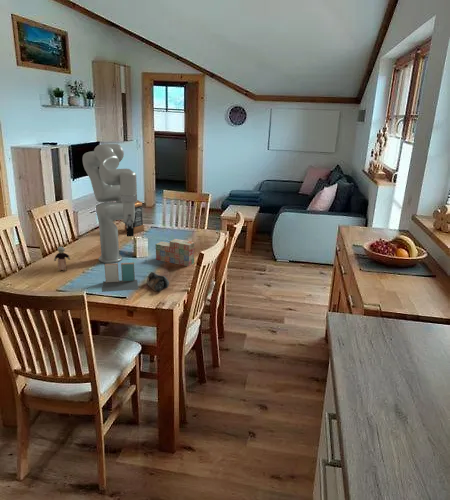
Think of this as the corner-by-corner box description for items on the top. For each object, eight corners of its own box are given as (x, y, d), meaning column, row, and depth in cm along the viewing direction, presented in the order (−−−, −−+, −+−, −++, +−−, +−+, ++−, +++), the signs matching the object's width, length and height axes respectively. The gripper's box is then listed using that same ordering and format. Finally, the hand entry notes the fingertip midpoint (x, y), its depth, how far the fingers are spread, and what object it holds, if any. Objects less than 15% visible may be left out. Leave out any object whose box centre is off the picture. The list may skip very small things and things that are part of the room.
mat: (103, 283, 200) (103, 281, 199) (137, 281, 203) (137, 279, 203) (101, 293, 188) (101, 291, 188) (138, 290, 192) (138, 289, 192)
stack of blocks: (155, 260, 233) (155, 238, 229) (161, 256, 238) (161, 236, 234) (188, 266, 224) (188, 244, 220) (194, 263, 230) (194, 241, 226)
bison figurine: (150, 283, 201) (138, 290, 192) (150, 269, 199) (138, 275, 191) (171, 288, 197) (160, 295, 188) (172, 274, 195) (160, 280, 186)
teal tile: (122, 280, 201) (121, 263, 198) (134, 279, 202) (134, 262, 199) (121, 281, 199) (121, 264, 197) (134, 281, 201) (134, 263, 198)
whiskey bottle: (134, 233, 280) (132, 186, 270) (123, 231, 285) (121, 184, 275) (144, 230, 289) (143, 184, 279) (134, 228, 293) (132, 182, 283)
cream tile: (105, 281, 199) (104, 263, 196) (118, 280, 201) (117, 263, 198) (105, 282, 198) (104, 265, 195) (118, 282, 199) (117, 264, 196)
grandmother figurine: (55, 272, 211) (53, 248, 207) (54, 269, 214) (52, 246, 210) (71, 270, 214) (69, 246, 210) (70, 267, 217) (68, 244, 213)
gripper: (121, 194, 202) (122, 228, 208) (120, 202, 186) (121, 238, 192) (136, 194, 204) (137, 228, 209) (137, 202, 188) (138, 238, 193)
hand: (130, 233), depth 200 cm, fingers open, 9 cm apart
